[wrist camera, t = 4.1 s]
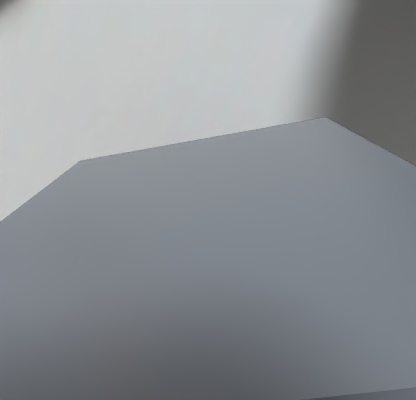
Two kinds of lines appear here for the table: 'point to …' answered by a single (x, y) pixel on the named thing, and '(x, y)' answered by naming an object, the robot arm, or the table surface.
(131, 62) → the table surface
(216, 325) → the grey matte cube
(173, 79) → the table surface
